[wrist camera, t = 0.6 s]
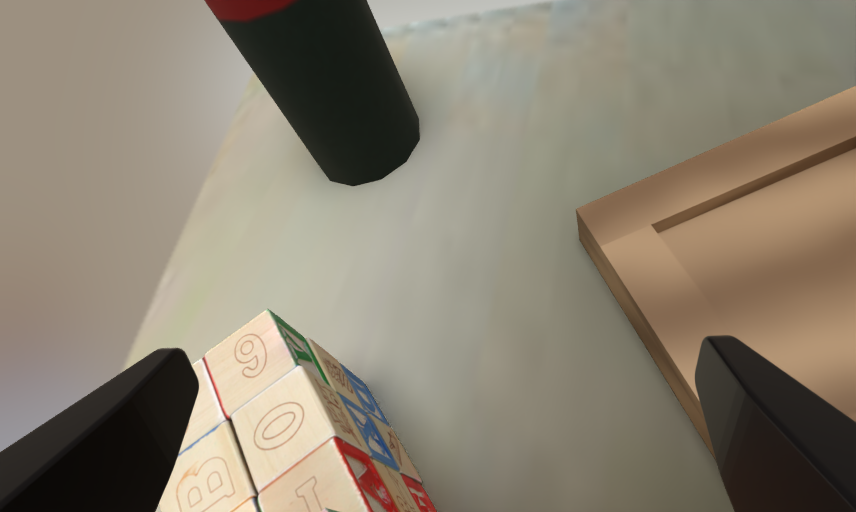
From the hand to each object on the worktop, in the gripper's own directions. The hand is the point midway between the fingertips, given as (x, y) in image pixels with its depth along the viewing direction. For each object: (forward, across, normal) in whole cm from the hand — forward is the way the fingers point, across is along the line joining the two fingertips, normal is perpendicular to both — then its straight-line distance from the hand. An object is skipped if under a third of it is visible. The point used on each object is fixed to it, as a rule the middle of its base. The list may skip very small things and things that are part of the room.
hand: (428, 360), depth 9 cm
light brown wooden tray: (+13, -15, +9) cm, 22 cm away
